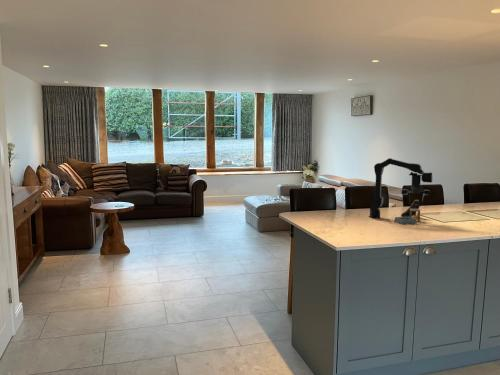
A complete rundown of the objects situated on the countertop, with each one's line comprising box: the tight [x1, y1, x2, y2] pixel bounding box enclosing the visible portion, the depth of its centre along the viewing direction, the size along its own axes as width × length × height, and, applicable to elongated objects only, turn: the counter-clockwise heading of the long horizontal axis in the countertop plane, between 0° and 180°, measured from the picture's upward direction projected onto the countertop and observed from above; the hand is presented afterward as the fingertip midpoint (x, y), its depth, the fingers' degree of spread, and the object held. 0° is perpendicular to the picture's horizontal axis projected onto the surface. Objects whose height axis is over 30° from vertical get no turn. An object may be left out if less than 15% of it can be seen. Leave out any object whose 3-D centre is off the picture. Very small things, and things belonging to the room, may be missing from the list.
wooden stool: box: [410, 208, 421, 223], centre depth 290 cm, size 6×6×8 cm
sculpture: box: [400, 199, 421, 217], centre depth 305 cm, size 6×13×13 cm, turn 53°
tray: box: [394, 216, 417, 225], centre depth 284 cm, size 10×10×3 cm
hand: (415, 204), depth 290 cm, fingers open, 9 cm apart
